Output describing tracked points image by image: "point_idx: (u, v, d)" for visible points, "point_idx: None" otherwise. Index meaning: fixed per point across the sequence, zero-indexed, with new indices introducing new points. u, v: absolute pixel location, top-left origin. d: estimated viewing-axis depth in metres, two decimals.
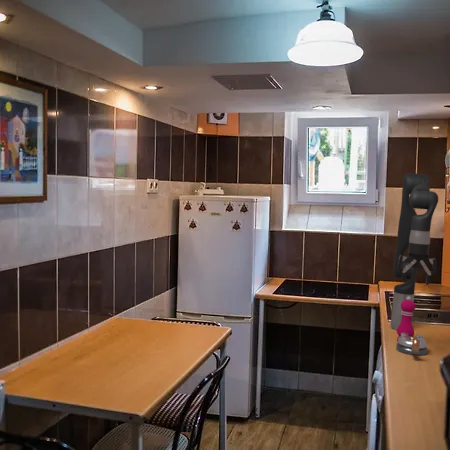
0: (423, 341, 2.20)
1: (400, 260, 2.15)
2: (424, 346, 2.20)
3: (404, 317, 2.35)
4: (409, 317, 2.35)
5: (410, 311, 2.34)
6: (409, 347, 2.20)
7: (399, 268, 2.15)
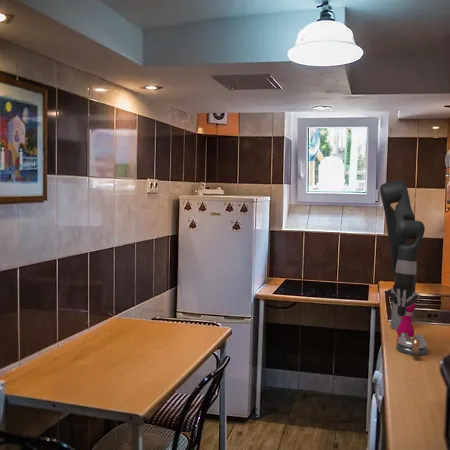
0: (423, 341, 2.20)
1: None
2: (424, 346, 2.20)
3: (404, 317, 2.35)
4: (409, 317, 2.35)
5: (410, 311, 2.34)
6: (409, 347, 2.20)
7: None
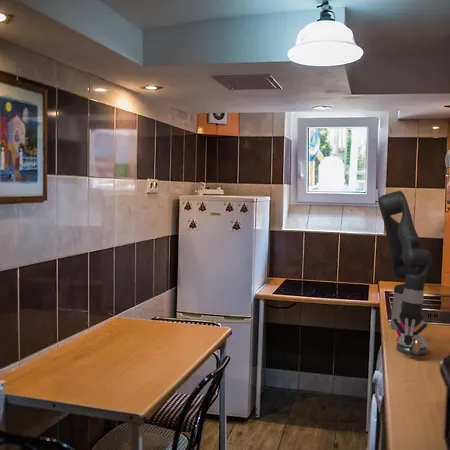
0: (423, 341, 2.20)
1: None
2: (424, 346, 2.20)
3: None
4: None
5: None
6: (409, 347, 2.20)
7: None
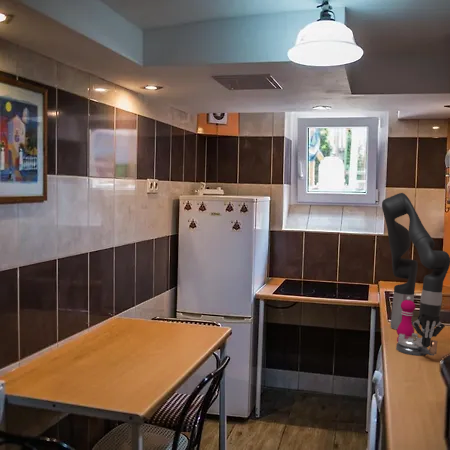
0: None
1: None
2: None
3: (404, 317, 2.35)
4: (409, 317, 2.35)
5: (410, 311, 2.34)
6: (417, 348, 2.19)
7: None
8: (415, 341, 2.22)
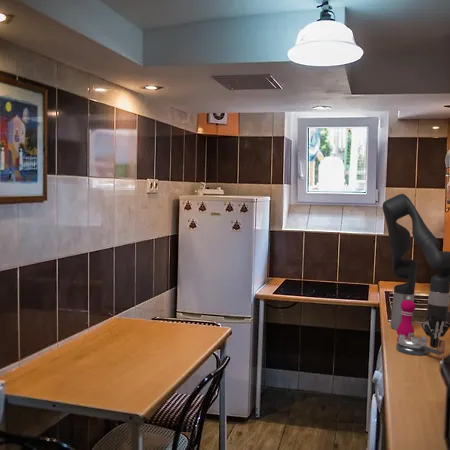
0: None
1: None
2: None
3: (404, 317, 2.35)
4: (409, 317, 2.35)
5: (410, 311, 2.34)
6: (421, 348, 2.19)
7: None
8: (417, 341, 2.22)
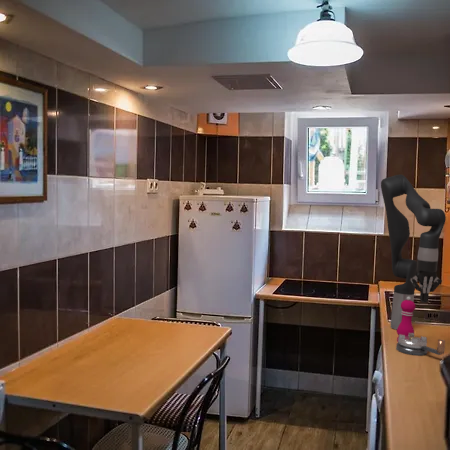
0: None
1: None
2: None
3: (404, 317, 2.35)
4: (409, 317, 2.35)
5: (410, 311, 2.34)
6: (421, 348, 2.19)
7: None
8: (417, 341, 2.22)
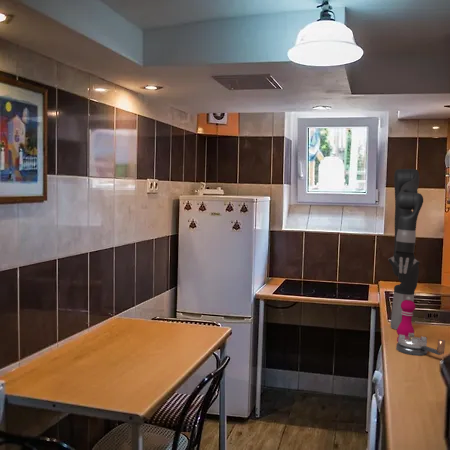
0: None
1: None
2: None
3: (404, 317, 2.35)
4: (409, 317, 2.35)
5: (410, 311, 2.34)
6: (421, 348, 2.19)
7: None
8: (417, 341, 2.22)
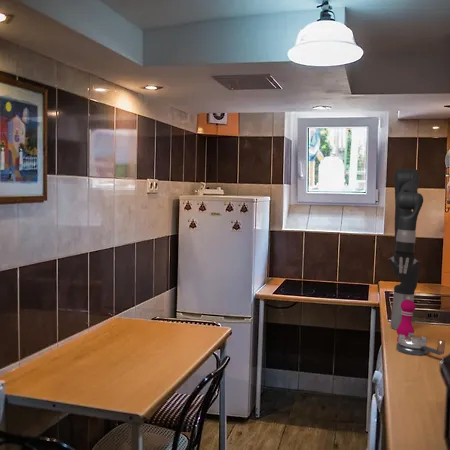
0: None
1: None
2: None
3: (404, 317, 2.35)
4: (409, 317, 2.35)
5: (410, 311, 2.34)
6: (421, 348, 2.19)
7: None
8: (417, 341, 2.22)
